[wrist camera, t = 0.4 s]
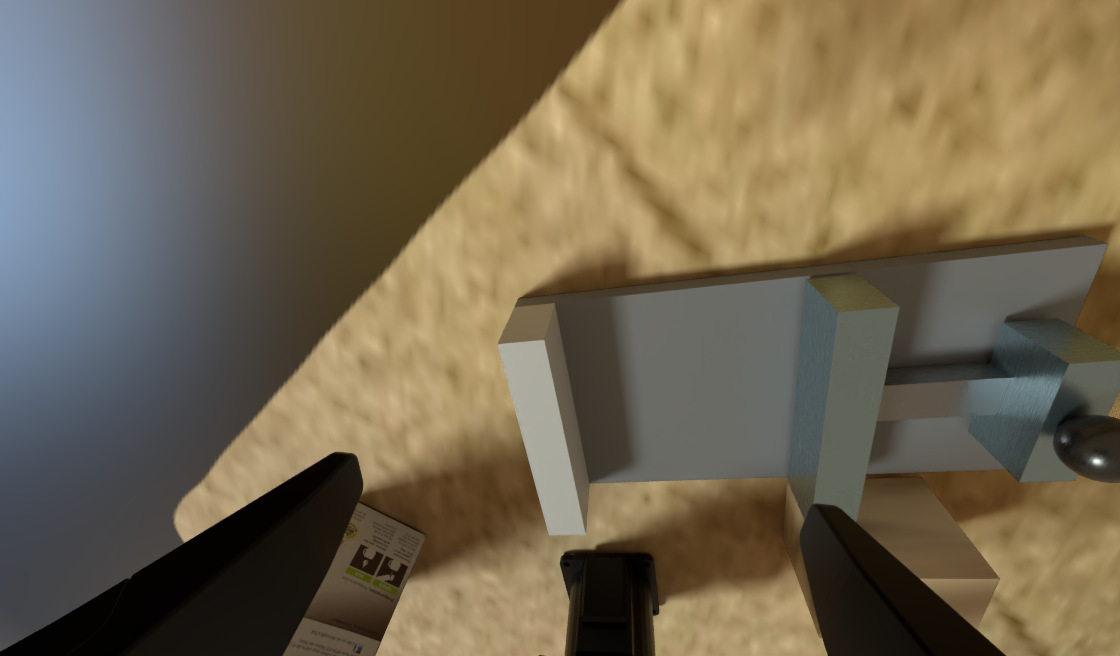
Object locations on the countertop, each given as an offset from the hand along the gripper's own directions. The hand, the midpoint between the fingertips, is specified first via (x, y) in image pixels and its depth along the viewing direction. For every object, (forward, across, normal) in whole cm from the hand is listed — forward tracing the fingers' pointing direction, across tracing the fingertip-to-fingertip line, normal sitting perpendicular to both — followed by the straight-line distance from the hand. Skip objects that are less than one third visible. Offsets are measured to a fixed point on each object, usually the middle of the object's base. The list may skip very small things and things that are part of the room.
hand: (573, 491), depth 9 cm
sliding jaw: (+13, -15, +5) cm, 20 cm away
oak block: (+14, -16, +15) cm, 26 cm away
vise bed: (+14, -9, +6) cm, 18 cm away
